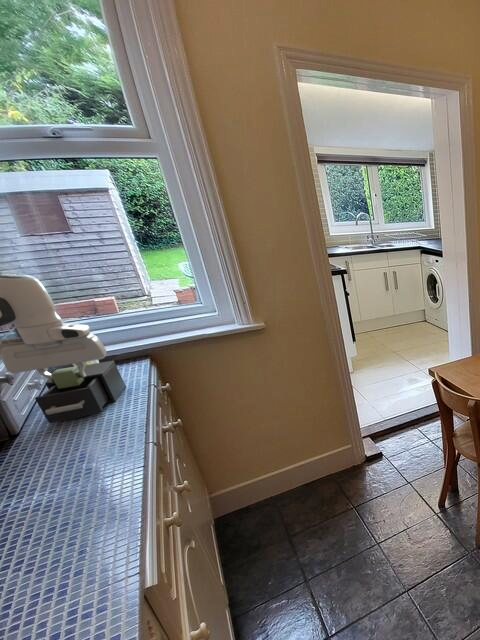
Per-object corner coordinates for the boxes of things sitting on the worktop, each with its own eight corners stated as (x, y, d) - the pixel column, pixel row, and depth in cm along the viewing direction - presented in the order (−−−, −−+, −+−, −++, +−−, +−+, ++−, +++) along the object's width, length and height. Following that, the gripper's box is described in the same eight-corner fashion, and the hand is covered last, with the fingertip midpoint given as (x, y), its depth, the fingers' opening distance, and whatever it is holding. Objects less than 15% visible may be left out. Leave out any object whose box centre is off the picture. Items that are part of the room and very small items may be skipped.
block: (58, 389, 116) (50, 374, 115) (64, 383, 120) (56, 369, 118) (79, 385, 118) (71, 370, 117) (84, 380, 122) (77, 366, 120)
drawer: (98, 418, 116) (85, 393, 113) (42, 429, 111) (27, 404, 108) (113, 396, 129) (102, 374, 126) (65, 406, 124) (52, 383, 121)
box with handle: (115, 401, 128) (101, 373, 124) (61, 412, 123) (44, 383, 119) (126, 386, 139) (113, 360, 135) (76, 396, 133) (62, 368, 129)
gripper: (-16, 343, 106) (13, 392, 111) (89, 329, 115) (111, 374, 121) (-4, 337, 111) (24, 384, 116) (96, 324, 120) (116, 368, 126)
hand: (69, 379), depth 119 cm, fingers closed on block, 4 cm apart
